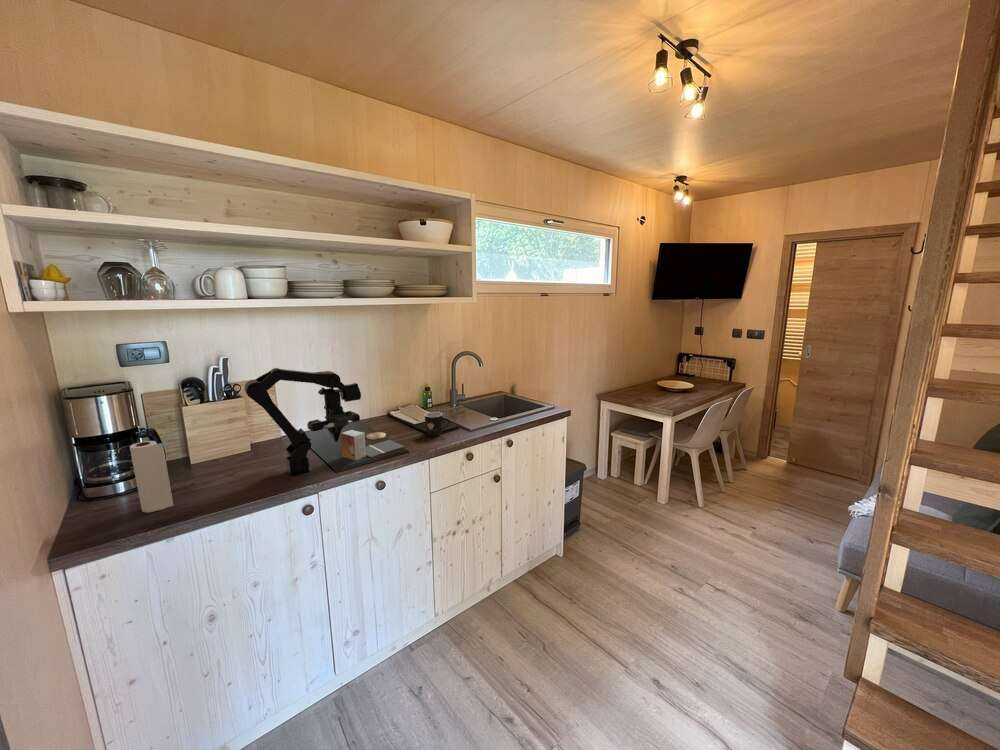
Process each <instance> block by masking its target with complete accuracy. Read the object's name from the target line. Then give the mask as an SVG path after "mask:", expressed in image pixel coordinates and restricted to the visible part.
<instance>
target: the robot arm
mask: <svg viewBox="0 0 1000 750" xmlns="http://www.w3.org/2000/svg"><path fill="white" fill-rule="evenodd" d="M280 381H284V382H285V381H287V382H298V383H306V384H307V383H308V384H315V385H318V386H322V387H321V388H320V389H319V390H318V392H317V393H318V394H319V395H321V396H323V397H324V406H323V408H324V410H325V416H324V419H325V420H322V421H321V420H320V419H313V420H309V421H308V422H307V423H306V424H307V429H308V430H309V431H312V432H318V431H323V429H325V430H327V431H328V432H329V434H330V436H331V438H332V439H333V441H334V443H338V442H339V439H340V437H341V433H342V431H343V428H344V427H346V426H348V425H349V422H352V423H355V422H359V421H361V415H360V414H359V413H357V412H354V411H352V410H347V411H344V408H343V405H342V403H341V401H344V402H345V403H347V402H353V401H355V402H356V401H360V400H361V399H362V393H361V390H360V387H359V384H358V383H355V382H353V383H351V384H349V383H348V384H344V383H343V382H342V381H341V377H340V375H339V374H337V373H335V372H333V371H330V370H327V371H326V370H325V371H316V372H313V371H302V370H301V371H300V370H295V369H294V370H293V369H292V370H291V369H284V368H280V367H274V368H272V369H271V370H270V371H268V372H266V373H264V374H262V375H260V376H258V377H257V378H255V379H250V380H248V381H246V383H245V384H244V385H243V386H244V387H243V388H244V389H243V391H244V392H245V394H246V395H247V396H248V397H249V399H251V400H253V402H255V403H256V404H258V405H259V406H260V407H262V408H263V410H264V411H265V412H266V413H267V415H269V416H270V418H271V419H272V421H274V423H275V424H276V425H278V427H279V428H280V429H281V430H282V432H284V434H285V436H286V437H287V440H288V441H289V443H290V444H289V445H288V446H286V448H285V453H286V454H287V456H286V457H285V459H286V466H287V470H285V471H286V473H287V474H289V476H291V477H295V476H296V477H297V476H298V475H301V474H305V473H309V472H310V463H309V462H310V461H309V457H308V456H307V455H308V452H309V451H311V449H312V443H311V441H312V439H311V438H310V436H309V435H307V434H306V432H305V431H304V430H303V428H299V429H297V428H296V427H294V425H292V423H291V422H290V420H289V419H287V417H286V416H285V415H284V414H283V412H282V411H281V410H280V409H279V408H278V406H277V405H276V404H275V403H274V401H273V400H272V398H271V396H270V394H269V392H268V390H270V389H271V388H273V386H275V385H276V384H277V383H278V382H280ZM335 388H336V389H335Z"/></svg>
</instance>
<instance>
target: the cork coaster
mask: <svg viewBox="0 0 1000 750" xmlns="http://www.w3.org/2000/svg"><path fill="white" fill-rule="evenodd" d="M386 437H387V434H386V433H385V432H383V431H382V432H377V431H376V432H370V433H368V434H365V439H367V440H370V441H372V440H373V441H376V440H377V439H378V440H382V439H384V438H386ZM381 438H382V439H381Z"/></svg>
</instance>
